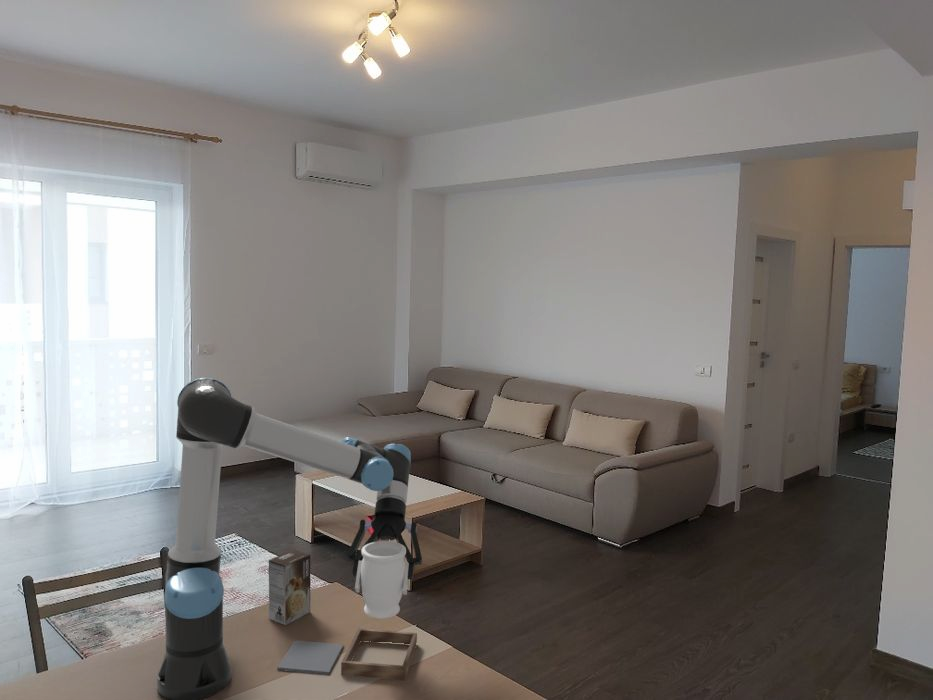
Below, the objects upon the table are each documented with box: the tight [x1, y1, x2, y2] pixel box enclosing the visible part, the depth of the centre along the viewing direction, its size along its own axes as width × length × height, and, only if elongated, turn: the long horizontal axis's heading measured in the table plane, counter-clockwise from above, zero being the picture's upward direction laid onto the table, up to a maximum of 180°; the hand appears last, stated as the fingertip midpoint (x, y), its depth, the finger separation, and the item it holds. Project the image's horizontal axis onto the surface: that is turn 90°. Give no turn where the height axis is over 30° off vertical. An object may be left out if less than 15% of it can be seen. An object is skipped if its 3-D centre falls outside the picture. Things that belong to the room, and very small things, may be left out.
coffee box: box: [268, 549, 311, 626], centre depth 184 cm, size 9×6×16 cm
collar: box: [340, 627, 418, 682], centre depth 165 cm, size 15×16×3 cm
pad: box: [276, 640, 344, 675], centre depth 165 cm, size 12×12×1 cm
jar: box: [360, 540, 406, 620], centre depth 164 cm, size 11×10×15 cm
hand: (380, 591), depth 161 cm, fingers closed on jar, 10 cm apart
